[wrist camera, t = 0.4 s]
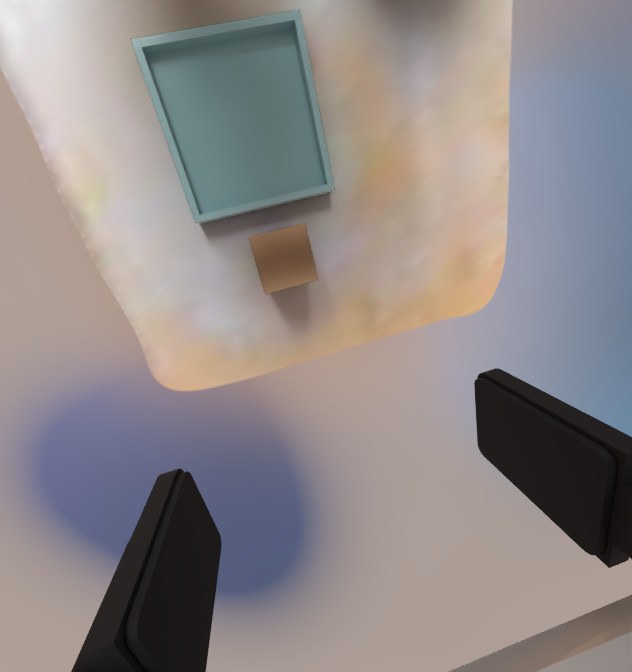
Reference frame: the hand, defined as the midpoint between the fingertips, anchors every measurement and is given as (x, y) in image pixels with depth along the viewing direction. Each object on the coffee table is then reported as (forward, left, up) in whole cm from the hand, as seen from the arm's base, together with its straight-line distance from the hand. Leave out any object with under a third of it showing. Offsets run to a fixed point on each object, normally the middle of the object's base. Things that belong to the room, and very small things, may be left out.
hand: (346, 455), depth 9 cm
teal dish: (-17, +1, -26) cm, 31 cm away
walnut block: (-5, +1, -26) cm, 27 cm away
